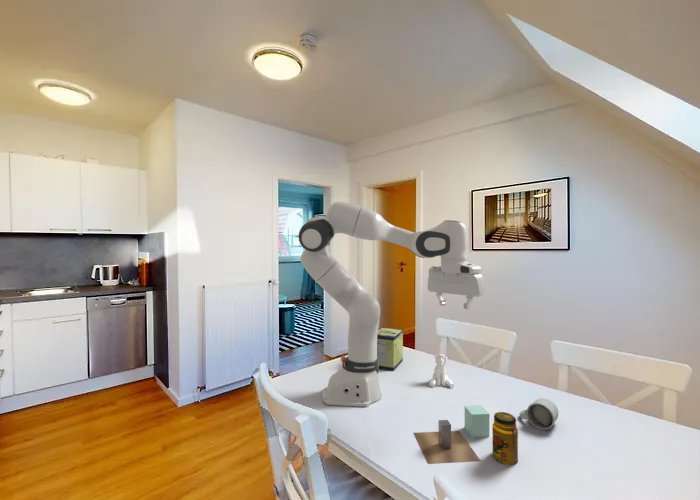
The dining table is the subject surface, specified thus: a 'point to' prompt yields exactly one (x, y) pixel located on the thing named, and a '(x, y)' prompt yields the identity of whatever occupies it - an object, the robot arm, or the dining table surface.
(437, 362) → the white creature statuette
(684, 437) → the dining table surface
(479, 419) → the mint green upright block
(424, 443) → the board
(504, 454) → the condiment
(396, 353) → the protein box
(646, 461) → the dining table surface
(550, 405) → the ceramic mug
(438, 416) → the dining table surface
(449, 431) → the post
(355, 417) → the dining table surface
